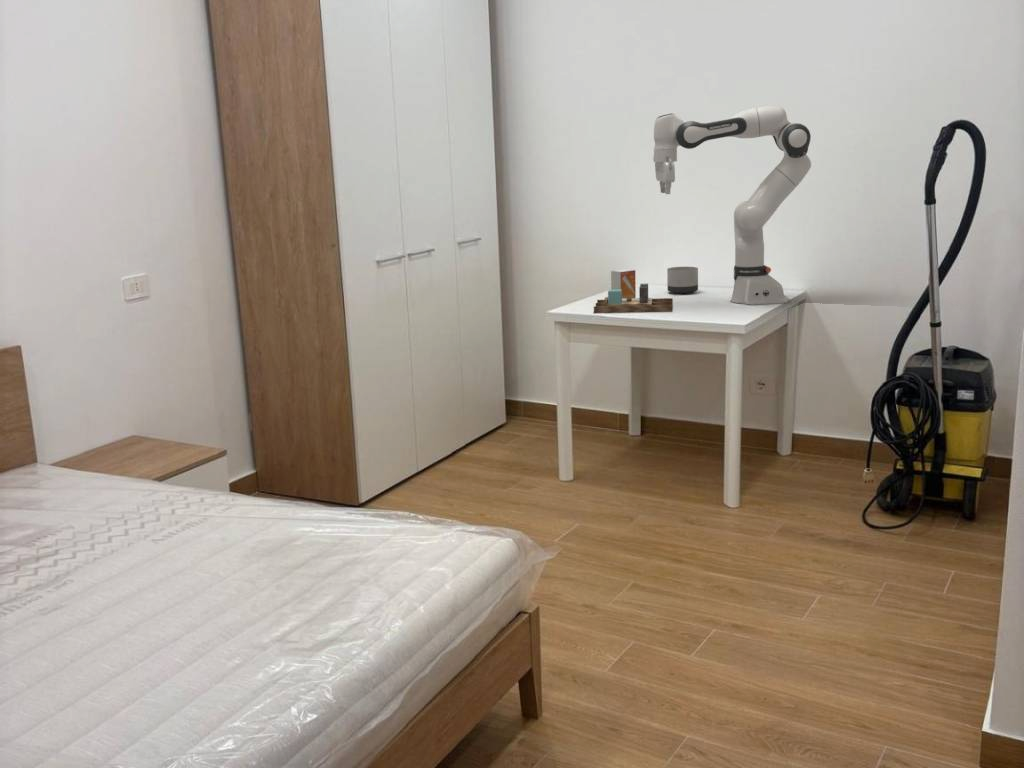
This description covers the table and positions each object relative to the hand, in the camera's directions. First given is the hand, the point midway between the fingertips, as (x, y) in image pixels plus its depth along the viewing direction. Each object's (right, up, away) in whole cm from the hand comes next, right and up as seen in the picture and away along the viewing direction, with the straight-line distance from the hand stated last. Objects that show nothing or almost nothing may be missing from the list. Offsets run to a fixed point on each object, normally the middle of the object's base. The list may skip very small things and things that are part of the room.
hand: (665, 193), depth 383 cm
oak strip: (-15, -45, -1) cm, 47 cm away
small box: (-14, -41, +21) cm, 48 cm away
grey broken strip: (-13, -43, +6) cm, 45 cm away
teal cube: (-20, -43, -1) cm, 47 cm away
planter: (+13, -36, +36) cm, 52 cm away
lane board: (-12, -45, +3) cm, 46 cm away
